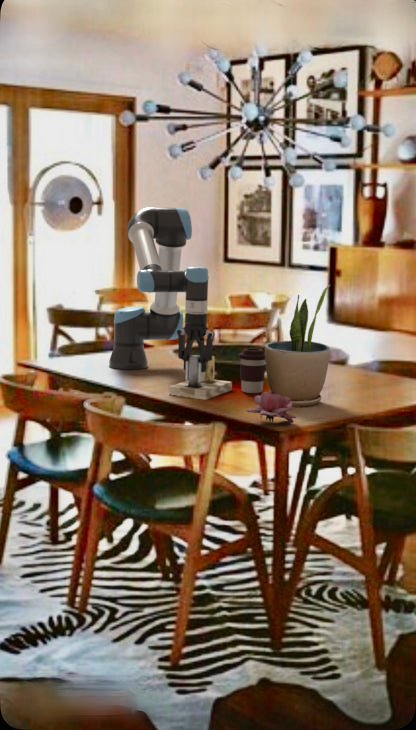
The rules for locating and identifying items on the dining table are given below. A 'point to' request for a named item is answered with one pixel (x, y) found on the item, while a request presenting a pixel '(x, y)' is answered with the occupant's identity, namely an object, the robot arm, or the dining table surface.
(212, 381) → the yellow rectangular block
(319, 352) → the potted plant
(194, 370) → the grey rectangular block
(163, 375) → the dining table surface
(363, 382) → the dining table surface
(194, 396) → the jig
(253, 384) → the coffee cup
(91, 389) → the dining table surface
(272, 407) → the flower
